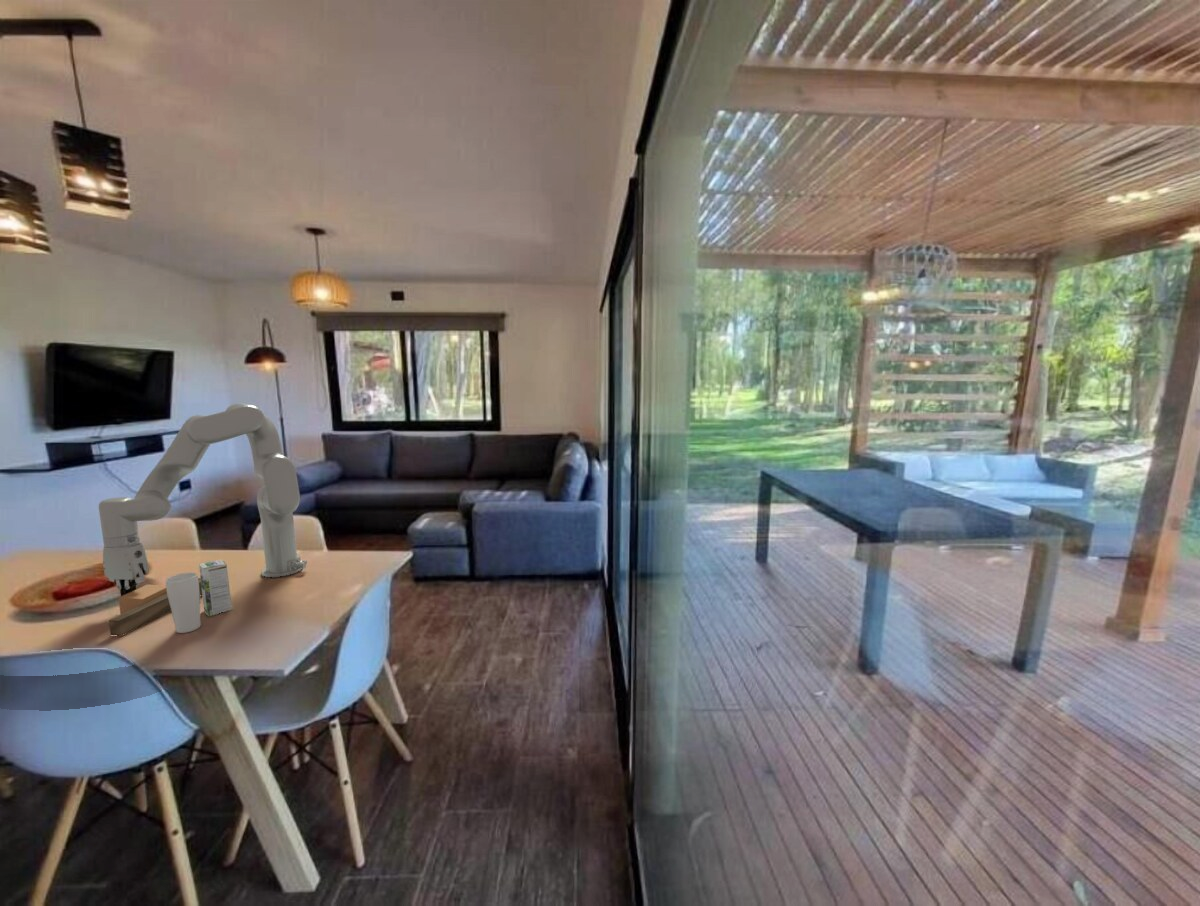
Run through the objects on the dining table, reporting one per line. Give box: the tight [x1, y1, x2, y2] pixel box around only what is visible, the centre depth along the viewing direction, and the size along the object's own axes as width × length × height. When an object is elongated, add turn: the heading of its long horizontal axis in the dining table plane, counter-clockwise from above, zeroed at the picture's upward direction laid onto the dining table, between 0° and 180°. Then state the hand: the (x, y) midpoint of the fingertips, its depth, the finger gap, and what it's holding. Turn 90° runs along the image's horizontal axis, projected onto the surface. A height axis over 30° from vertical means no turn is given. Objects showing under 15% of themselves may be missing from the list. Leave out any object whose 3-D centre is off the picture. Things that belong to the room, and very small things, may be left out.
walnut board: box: [107, 577, 202, 637], centre depth 148 cm, size 3×28×4 cm, turn 175°
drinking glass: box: [165, 572, 202, 634], centre depth 137 cm, size 7×7×15 cm
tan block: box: [118, 584, 167, 615], centre depth 148 cm, size 7×9×6 cm
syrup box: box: [198, 559, 232, 617], centre depth 148 cm, size 6×6×14 cm
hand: (129, 600), depth 149 cm, fingers closed
